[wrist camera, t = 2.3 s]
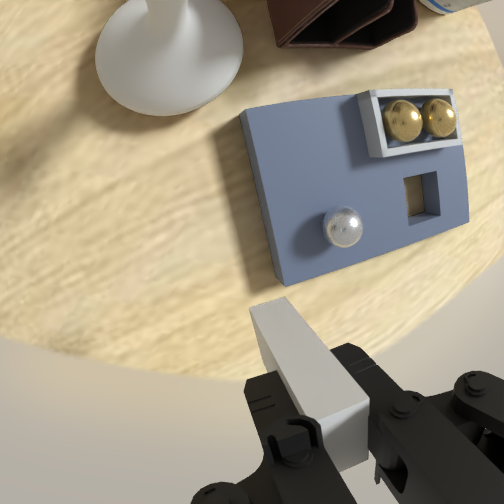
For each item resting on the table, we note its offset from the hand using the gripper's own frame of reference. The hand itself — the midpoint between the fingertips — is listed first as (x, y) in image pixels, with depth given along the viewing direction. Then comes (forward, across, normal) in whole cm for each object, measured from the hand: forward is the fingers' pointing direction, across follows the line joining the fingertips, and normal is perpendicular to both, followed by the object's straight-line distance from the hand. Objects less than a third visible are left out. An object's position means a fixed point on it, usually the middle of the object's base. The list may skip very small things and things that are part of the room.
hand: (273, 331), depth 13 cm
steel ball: (+11, +9, 0) cm, 14 cm away
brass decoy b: (+10, +20, +8) cm, 24 cm away
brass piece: (+10, +16, +8) cm, 20 cm away
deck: (+15, +15, +3) cm, 21 cm away
